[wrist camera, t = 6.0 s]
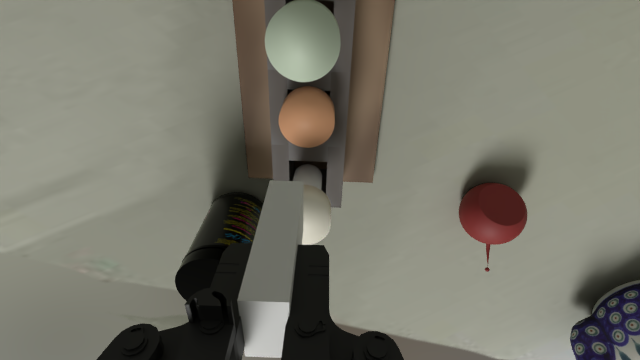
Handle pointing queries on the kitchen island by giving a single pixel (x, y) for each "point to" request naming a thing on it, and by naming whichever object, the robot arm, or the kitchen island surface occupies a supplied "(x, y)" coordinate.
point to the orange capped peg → (307, 117)
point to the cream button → (313, 205)
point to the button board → (339, 84)
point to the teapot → (610, 327)
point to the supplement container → (217, 240)
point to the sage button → (303, 40)
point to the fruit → (492, 214)
